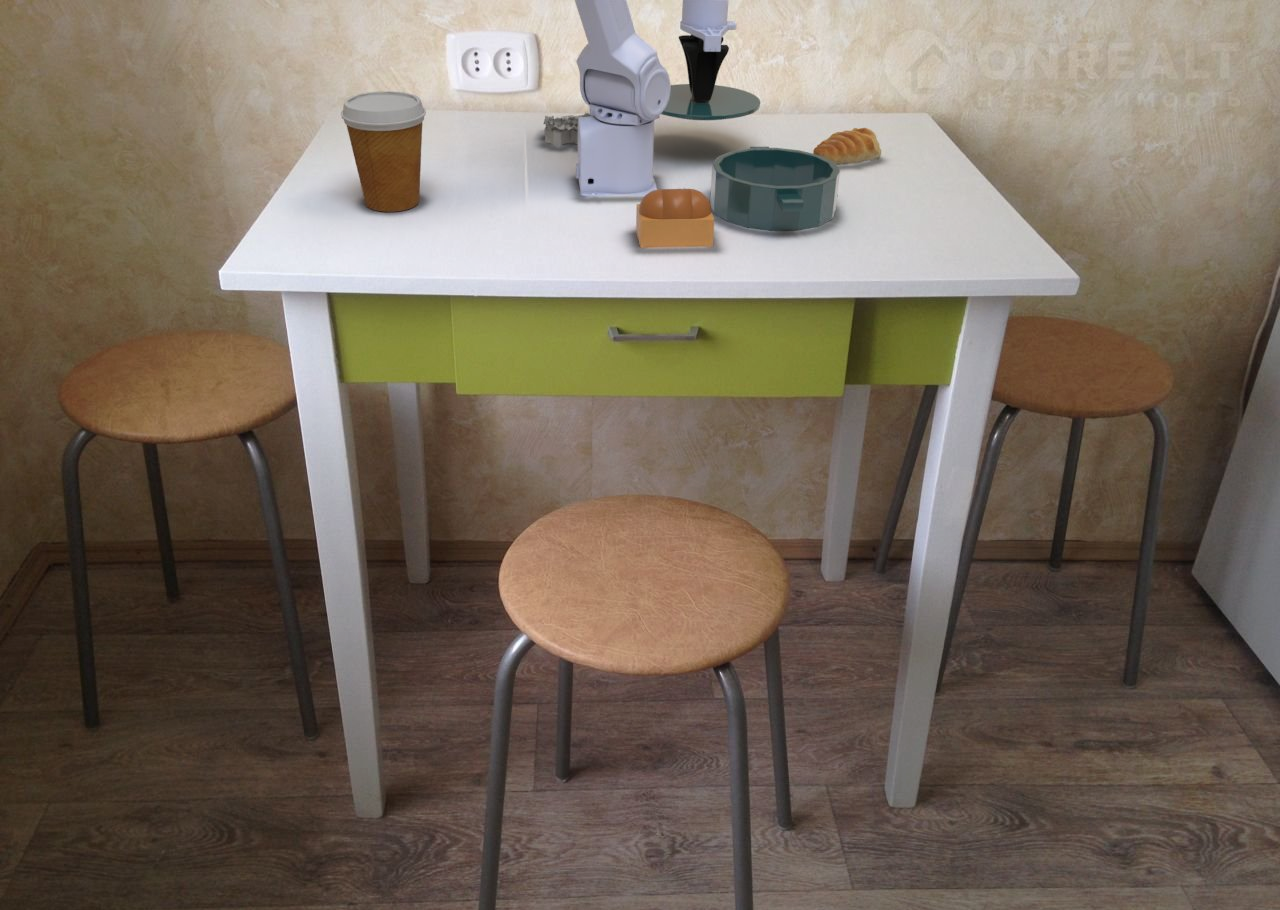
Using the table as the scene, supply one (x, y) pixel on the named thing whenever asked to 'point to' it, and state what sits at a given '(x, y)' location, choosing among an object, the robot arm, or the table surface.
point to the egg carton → (562, 129)
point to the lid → (710, 104)
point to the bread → (674, 219)
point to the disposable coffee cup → (386, 147)
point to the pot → (774, 188)
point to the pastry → (850, 147)
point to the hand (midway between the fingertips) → (700, 96)
